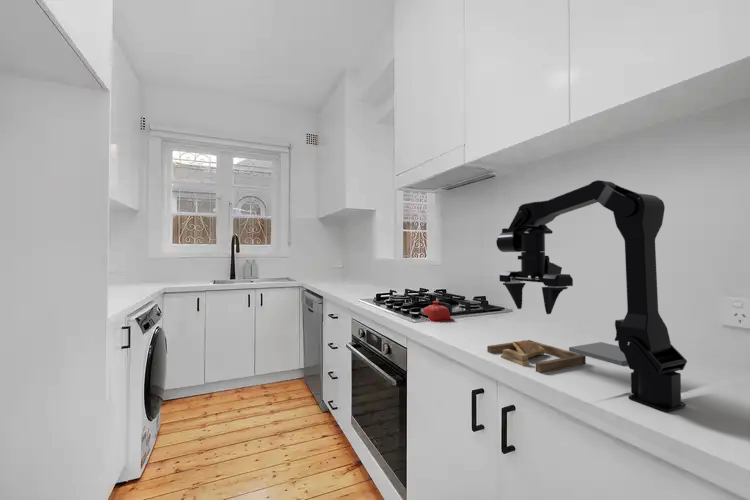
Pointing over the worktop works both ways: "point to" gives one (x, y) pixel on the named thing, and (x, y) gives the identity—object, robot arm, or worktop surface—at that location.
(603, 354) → the charcoal mat
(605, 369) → the worktop surface
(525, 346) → the shard
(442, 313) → the butter dish
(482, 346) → the worktop surface
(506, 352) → the upper oak offcut
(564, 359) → the walnut open-sided frame
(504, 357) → the lower oak offcut
